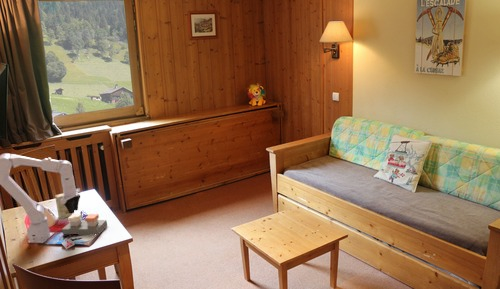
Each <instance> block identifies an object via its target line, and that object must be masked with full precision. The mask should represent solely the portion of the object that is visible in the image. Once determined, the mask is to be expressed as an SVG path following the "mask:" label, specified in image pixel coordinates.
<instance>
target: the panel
mask: <svg viewBox="0 0 500 289" xmlns="http://www.w3.org/2000/svg"><path fill="white" fill-rule="evenodd" d="M107 226H108V222H107V219H98V224H97V225H96V226H95V227H88V224H87V222H85V219H81V224H80V225H79V226H78V227H71V225H70V222H69V223H68V224H66V225H65V226H64V227H63V228H62V229H61V232H62V235H63V234H78V235H77V236H98V235H99V234H100V233H102V232H103V231H104V230H105V229H106V228H107ZM95 234H96V235H95Z"/></svg>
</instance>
